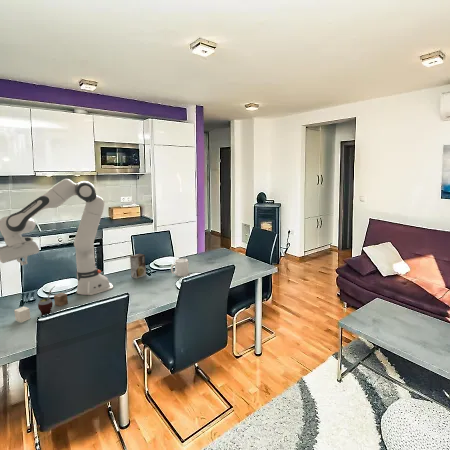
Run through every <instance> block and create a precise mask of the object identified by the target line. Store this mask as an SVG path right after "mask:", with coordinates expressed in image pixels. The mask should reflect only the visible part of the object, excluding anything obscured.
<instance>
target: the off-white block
mask: <svg viewBox="0 0 450 450" xmlns="http://www.w3.org/2000/svg"><path fill="white" fill-rule="evenodd" d="M14 317H15V321H16V322H18V323H24V322H26V321H28V320H31V311H30V307H27V306H22V307H19V308H15V309H14Z"/></svg>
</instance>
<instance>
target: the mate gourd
mask: <svg viewBox="0 0 450 450" xmlns="http://www.w3.org/2000/svg"><path fill="white" fill-rule="evenodd" d="M55 287H56V286H55V285H54V286H53V287H52V288H51V289H50V290H49V293H48V296H47V297H46V298H42V299H40V300H39V301H38V303H37V306H38V307H37V308H38V310H39V311H40V314H41V315H40V316H41V317H42V315H43V316H45V315H50V314H49V313H51V312H52V309H53V300H52V299H51V298H50V296H51V295H50V294H51V293H52V290H53V289H54V288H55Z"/></svg>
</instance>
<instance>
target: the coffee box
mask: <svg viewBox="0 0 450 450" xmlns="http://www.w3.org/2000/svg"><path fill="white" fill-rule="evenodd" d="M129 260H130V261H129V262H130V273H131V274H130V275H131V278H134V279H140V278H142V277H145V276H147V270H146V269H147V266H146V255H145V254H142V253H137V254H133V255H130V256H129Z"/></svg>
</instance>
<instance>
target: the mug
mask: <svg viewBox="0 0 450 450" xmlns="http://www.w3.org/2000/svg"><path fill="white" fill-rule="evenodd" d="M189 265H190V264H189V259H188V258H176V259H175V260H174V263H171V266H170V271H171V273H172V274H173V275H174V274H175V277H186V276H188V275H190V270H189Z"/></svg>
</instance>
